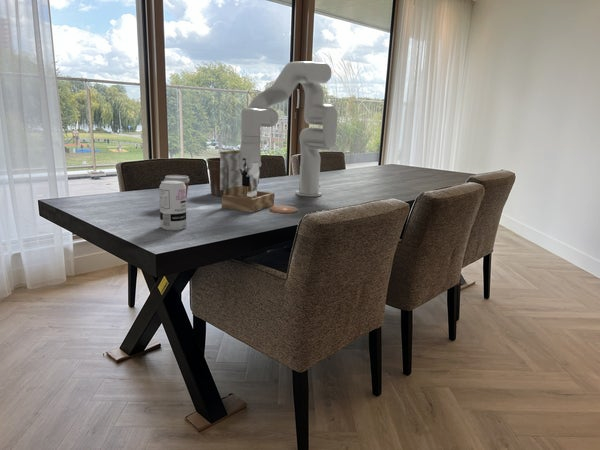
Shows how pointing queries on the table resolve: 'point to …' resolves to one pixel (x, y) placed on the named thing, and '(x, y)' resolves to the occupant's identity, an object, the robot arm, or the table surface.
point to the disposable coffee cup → (179, 179)
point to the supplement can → (172, 205)
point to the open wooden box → (233, 178)
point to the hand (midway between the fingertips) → (250, 184)
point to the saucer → (283, 209)
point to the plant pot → (215, 176)
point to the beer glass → (252, 182)
